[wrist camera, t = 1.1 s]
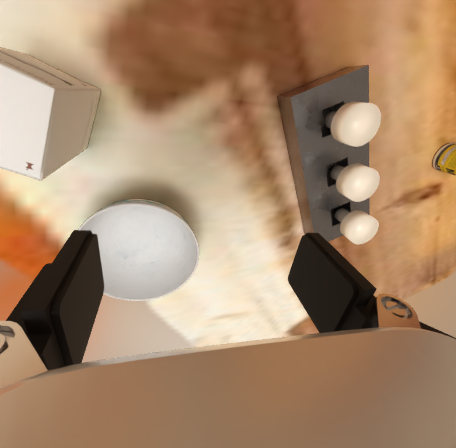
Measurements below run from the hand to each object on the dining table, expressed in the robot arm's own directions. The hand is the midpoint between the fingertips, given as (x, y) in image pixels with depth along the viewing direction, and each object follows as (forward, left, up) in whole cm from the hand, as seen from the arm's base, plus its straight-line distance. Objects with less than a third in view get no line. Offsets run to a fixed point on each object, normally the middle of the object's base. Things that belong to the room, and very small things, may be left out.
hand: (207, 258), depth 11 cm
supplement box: (+4, -14, -25) cm, 28 cm away
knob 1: (-14, +14, -21) cm, 28 cm away
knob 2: (-5, +26, -21) cm, 34 cm away
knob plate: (-9, +20, -24) cm, 33 cm away
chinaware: (+14, +1, -25) cm, 28 cm away
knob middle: (-9, +20, -21) cm, 30 cm away
